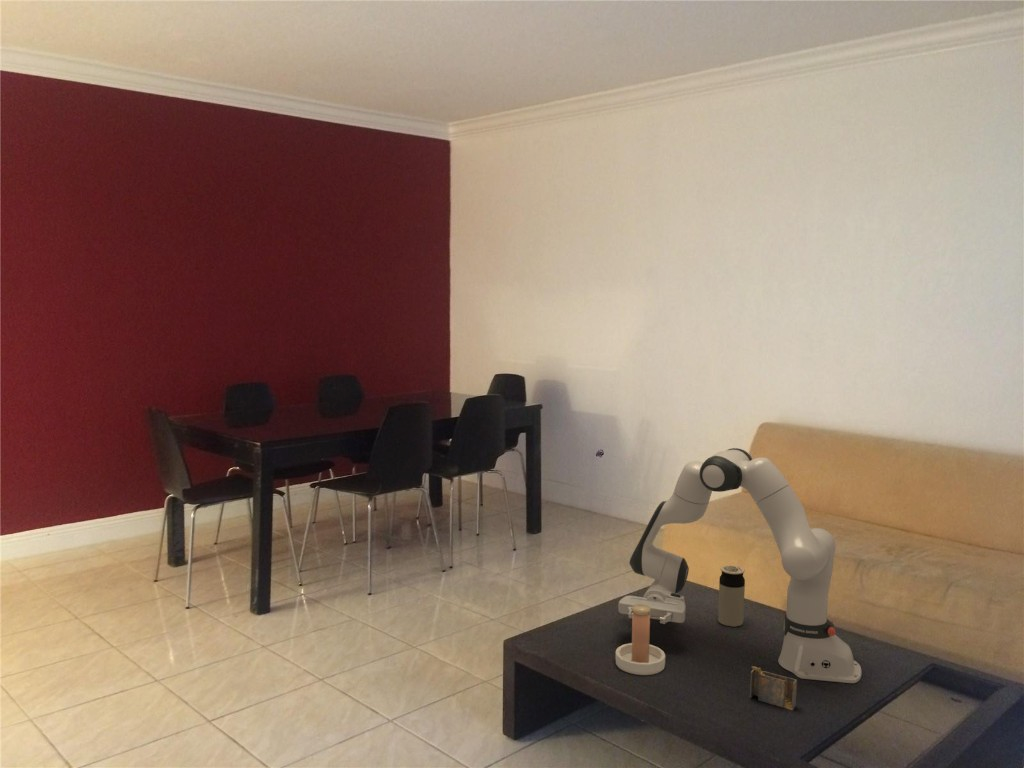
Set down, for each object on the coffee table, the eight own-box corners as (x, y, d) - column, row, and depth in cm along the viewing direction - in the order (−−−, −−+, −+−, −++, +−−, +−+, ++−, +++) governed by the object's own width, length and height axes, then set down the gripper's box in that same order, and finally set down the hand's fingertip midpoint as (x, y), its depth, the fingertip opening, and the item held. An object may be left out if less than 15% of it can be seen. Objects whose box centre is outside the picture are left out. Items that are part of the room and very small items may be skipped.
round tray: (669, 658, 245) (669, 647, 245) (658, 678, 232) (658, 667, 232) (622, 649, 250) (623, 639, 250) (610, 669, 237) (610, 659, 237)
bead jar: (651, 659, 243) (652, 605, 241) (646, 666, 238) (648, 612, 236) (633, 656, 244) (634, 603, 243) (629, 663, 240) (630, 609, 238)
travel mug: (719, 626, 268) (721, 572, 266) (716, 616, 276) (718, 564, 274) (744, 627, 267) (747, 573, 265) (741, 618, 275) (743, 565, 273)
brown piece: (749, 700, 221) (750, 665, 220) (752, 695, 224) (754, 661, 223) (792, 712, 215) (794, 676, 214) (795, 707, 218) (797, 672, 216)
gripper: (624, 587, 262) (612, 603, 250) (689, 597, 255) (680, 613, 242) (623, 606, 263) (612, 623, 250) (688, 617, 255) (680, 634, 243)
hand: (646, 618), depth 246 cm, fingers open, 8 cm apart
